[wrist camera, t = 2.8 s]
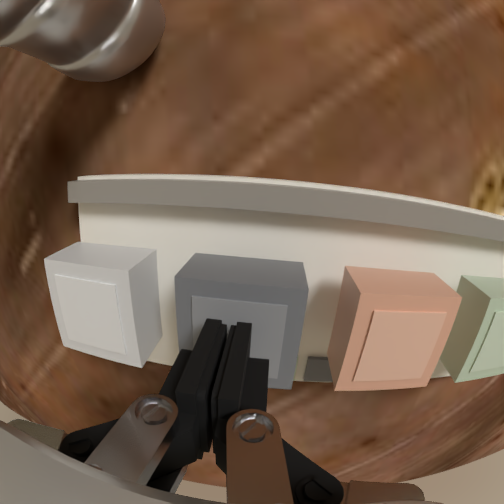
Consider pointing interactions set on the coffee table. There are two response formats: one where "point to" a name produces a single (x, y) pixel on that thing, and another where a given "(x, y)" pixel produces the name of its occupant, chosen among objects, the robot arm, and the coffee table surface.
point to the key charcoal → (246, 305)
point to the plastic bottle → (84, 34)
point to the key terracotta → (389, 328)
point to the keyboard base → (286, 238)
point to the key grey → (106, 300)
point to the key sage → (477, 330)
